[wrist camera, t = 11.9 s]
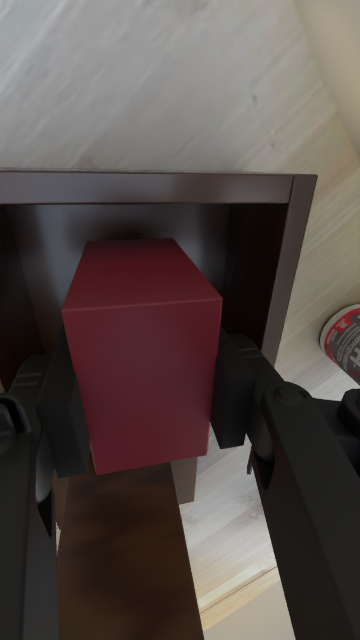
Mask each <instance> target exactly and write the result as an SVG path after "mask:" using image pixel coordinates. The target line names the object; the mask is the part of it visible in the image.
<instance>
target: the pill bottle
mask: <svg viewBox="0 0 360 640" xmlns="http://www.w3.org/2000/svg"><path fill="white" fill-rule="evenodd" d="M320 346H321V349H322V351H323V352H324V353H325V354H326V355H327V356H328V357H329V358H330V359H331V360H332V361H333V362H334V363H336V364H337V365H338V366H339V367H340V368H341V369H342V370H343V371H344V372H346V373H347V374H348V375H349V376H350V377H351V378H352V379H353V380H354V381H355V382H356V383H358V384H359V385H360V304H356V305H352V306H349V307H346V308H344V309H342V310H341V311H339V312H338V313H336V314H335V315H334V316H333V317H332V318H331V319H330V320H329V321H328V322H327V324H326V325H325V326H324V328H323V331H322V333H321V337H320Z"/></svg>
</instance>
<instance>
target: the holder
mask: <svg viewBox="0 0 360 640" xmlns="http://www.w3.org/2000/svg"><path fill="white" fill-rule="evenodd" d="M317 177H318V175H316V174H291V173H264V172H228V171H168V170H107V169H46V168H0V393H8V391H9V389H10V388H11V385H12V383H13V381H14V379H15V378H16V374H17V372H18V370H19V368H20V366H21V364H23V363H24V362H25V361H26V360H27V359H28V358H29V357H30V356H31V355H36V354H46V353H53V351H54V348H55V345H56V342H57V339H58V336H59V333H60V330H61V327H62V324H63V318H62V313H61V310H62V307H63V304H64V301H65V299H66V296H67V293H68V291H69V288H70V285H71V282H72V280H73V277H74V274H75V272H76V269H77V266H78V264H79V261H80V258H81V256H82V253H83V250H84V247H85V245H86V242H87V241H101V240H135V239H168V238H173V239H174V240H175V241H176V242H177V243H178V245H179V246H180V247H181V248H182V249H183V251H184V252H185V253H186V254H187V255H188V257H189V258H190V259H191V260H192V261H193V263H194V264H195V265H196V266H197V268H198V269H199V270H200V271H201V272H202V274H203V275H204V276H205V277H206V278H207V280H208V281H209V282H210V283H211V285H212V286H213V287H214V288H215V289H216V291H217V292H218V293H219V294H220V295H221V297H222V298H223V302H222V312H221V322H220V324H221V326H222V327H223V328H224V330H225V331H226V333H227V334H238V333H242V334H243V335H245V336H246V337H248V338H250V339H251V340H252V341H253V342H254V343H255V345H256V346H257V347H258V350H260V351H261V352H262V353H263V355H264V357H266V358H267V360H268V361H269V362H270V364H271V365H272V366H273V367H274V366H275V362H276V357H277V353H278V349H279V344H280V340H281V335H282V331H283V327H284V322H285V318H286V313H287V309H288V305H289V300H290V296H291V291H292V287H293V283H294V278H295V274H296V270H297V265H298V261H299V256H300V252H301V248H302V243H303V239H304V234H305V230H306V226H307V221H308V217H309V212H310V208H311V204H312V199H313V195H314V191H315V186H316V182H317Z"/></svg>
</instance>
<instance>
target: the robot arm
mask: <svg viewBox="0 0 360 640" xmlns="http://www.w3.org/2000/svg"><path fill="white" fill-rule="evenodd" d="M210 423H211V426H212V428H213V431H214V434H215V436H216V439H217V442H218V444H219V447H220V449H225V448H231V447H236V446H242V445H244V440H245V435H246V434H247V436H248V438H249V440H250V442H251V444H252V446H251V451H250V455H249V460H248V465H247V474H251V471H252V467H253V470H254V474H255V478H256V482H257V486H258V490H259V494H260V498H261V502H262V506H263V510H264V514H265V518H266V522H267V526H268V530H269V534H270V538H271V542H272V547H273V551H274V555H275V559H276V563H277V567H278V571H279V575H280V579H281V582H282V586H283V591H284V595H285V599H286V603H287V607H288V611H289V615H290V619H291V623H292V627H293V631H294V635H295V638H296V640H360V389H350V390H348V391H346V392H345V394H344V396H343V398H342V400H341V401H334V400H325V399H317V398H312V396H311V395H310V394H309V393H308V392H307V391H306V390H305V389H303V388H302V387H300V386H299V385H296V384H293V383H291V382H285V381H284V380H283V379H282V377H281V376H280V375H279V374H278V372H277V371H276V370H275V369H274V367H273V366H272V365H271V364H270V362H269V361H268V360H267V358H266V357H264V355H263V353H262V352H261V351H260V350H258V347H257V346H256V345H255V343H254V342H253V341H252V340H251V339H250V338H248V337H246V336H245V335H243V334H242V333H238V334H227V333H226V331H225V330H224V328H223V327H222V326H221V324H220V332H219V342H218V352H217V356H216V363H215V373H214V384H213V394H212V404H211V414H210ZM89 446H90V438H89V433H88V428H87V423H86V419H85V414H84V409H83V405H82V400H81V395H80V390H79V386H78V381H77V376H76V372H74V369H73V364H72V360H71V355H70V350H69V346H68V341H67V336H66V332H65V327H64V322H63V324H62V327H61V330H60V333H59V336H58V339H57V342H56V345H55V348H54V351H53V353H46V354H36V355H31V356H30V357H29V358H28V359H27V360H26V361H25V362H24V363H23V364H21V366H20V368H19V370H18V372H17V374H16V378H15V379H14V381H13V383H12V385H11V388H10V389H9V391H8V393H0V640H59V615H58V582H57V549H56V517H55V495H54V491H53V488H52V485H51V484H52V479H53V474H54V469H56V472H57V476H58V479H59V478H64V477H70V476H75V475H81V474H86V473H87V469H88V457H89Z"/></svg>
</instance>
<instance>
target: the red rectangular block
mask: <svg viewBox="0 0 360 640" xmlns="http://www.w3.org/2000/svg"><path fill="white" fill-rule="evenodd" d="M222 302H223V298H222V297H221V295H220V294H219V293H218V292H217V291H216V289H215V288H214V287H213V286H212V285H211V283H210V282H209V281H208V280H207V278H206V277H205V276H204V275H203V274H202V272H201V271H200V270H199V269H198V268H197V266H196V265H195V264H194V263H193V261H192V260H191V259H190V258H189V257H188V255H187V254H186V253H185V252H184V251H183V249H182V248H181V247H180V246H179V245H178V243H177V242H176V241H175V240H174V239H173V238H168V239H135V240H101V241H87V242H86V245H85V247H84V250H83V253H82V256H81V258H80V261H79V264H78V266H77V269H76V272H75V274H74V277H73V280H72V282H71V285H70V288H69V291H68V293H67V296H66V299H65V301H64V304H63V307H62V310H61V313H62V318H63V322H64V327H65V332H66V336H67V341H68V346H69V350H70V355H71V360H72V364H73V369H74V372H76V376H77V381H78V386H79V390H80V395H81V400H82V405H83V409H84V414H85V419H86V423H87V428H88V433H89V438H90V448H91V453H92V457H93V462H94V467H95V471H96V474H97V475H100V474H106V473H111V472H117V471H122V470H128V469H133V468H139V467H144V466H150V465H155V464H161V463H166V462H172V461H177V460H183V459H188V458H194V457H199V456H205V455H207V452H208V442H209V432H210V414H211V404H212V394H213V384H214V373H215V363H216V356H217V352H218V342H219V332H220V322H221V312H222Z"/></svg>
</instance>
